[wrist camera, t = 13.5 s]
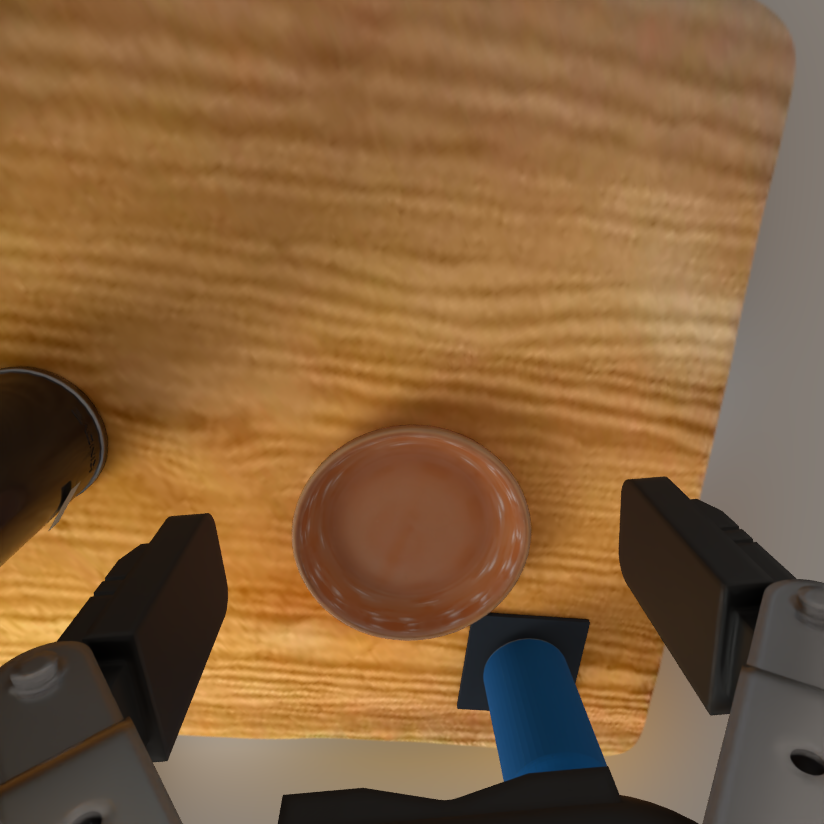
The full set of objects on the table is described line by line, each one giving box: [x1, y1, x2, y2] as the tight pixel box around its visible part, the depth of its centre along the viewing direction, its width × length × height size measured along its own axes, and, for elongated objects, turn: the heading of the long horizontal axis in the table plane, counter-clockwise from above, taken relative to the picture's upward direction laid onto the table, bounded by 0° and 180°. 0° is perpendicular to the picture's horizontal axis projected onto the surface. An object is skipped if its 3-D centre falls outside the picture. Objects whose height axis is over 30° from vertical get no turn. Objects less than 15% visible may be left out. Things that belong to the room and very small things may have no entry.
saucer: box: [292, 425, 531, 640], centre depth 41 cm, size 16×16×3 cm
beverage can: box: [483, 639, 607, 782], centre depth 41 cm, size 6×6×12 cm
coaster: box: [457, 613, 590, 711], centre depth 47 cm, size 9×9×1 cm
